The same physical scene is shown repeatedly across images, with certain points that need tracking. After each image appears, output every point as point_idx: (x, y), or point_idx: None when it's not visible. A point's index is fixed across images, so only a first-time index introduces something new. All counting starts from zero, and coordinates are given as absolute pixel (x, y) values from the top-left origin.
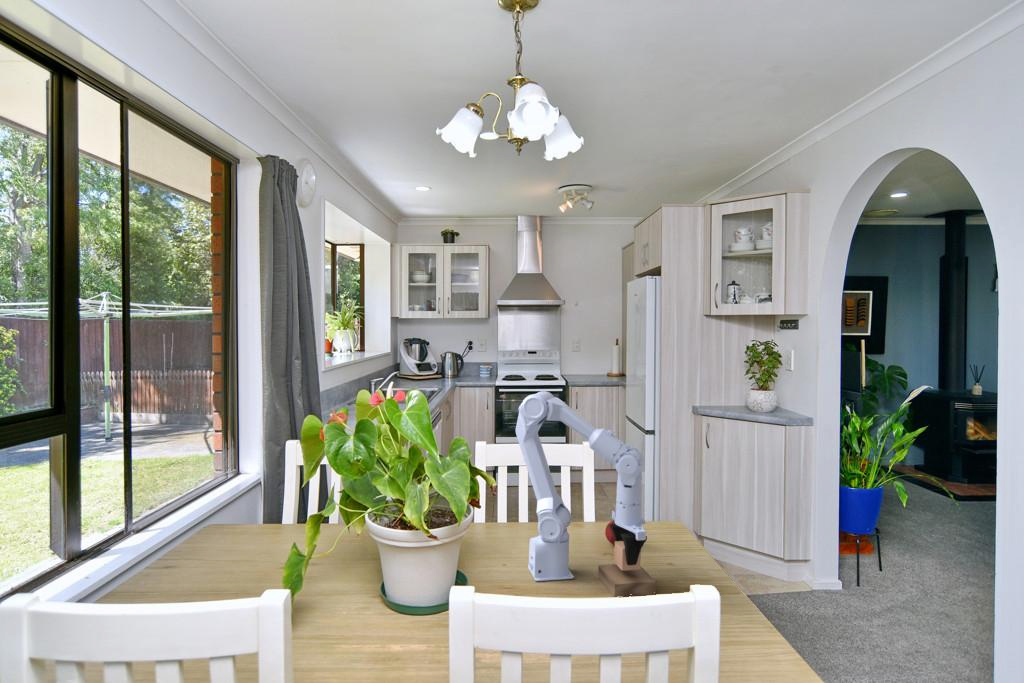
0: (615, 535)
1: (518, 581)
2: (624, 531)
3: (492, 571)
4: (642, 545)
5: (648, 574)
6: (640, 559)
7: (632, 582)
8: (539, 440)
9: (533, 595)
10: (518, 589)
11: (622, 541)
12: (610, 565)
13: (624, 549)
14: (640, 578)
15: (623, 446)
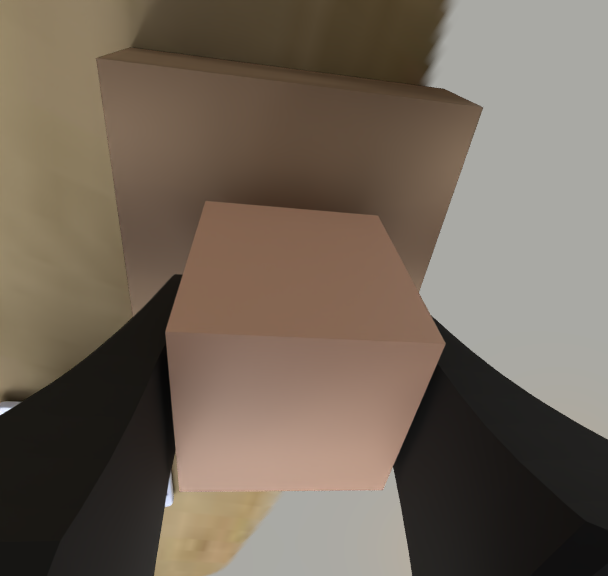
0: (156, 556)
1: (161, 526)
2: (127, 549)
3: None
4: (573, 427)
5: (354, 98)
6: (401, 260)
7: (416, 279)
8: None
9: (266, 511)
10: (218, 531)
11: (191, 439)
12: (143, 297)
13: (386, 472)
14: (389, 202)
15: None
